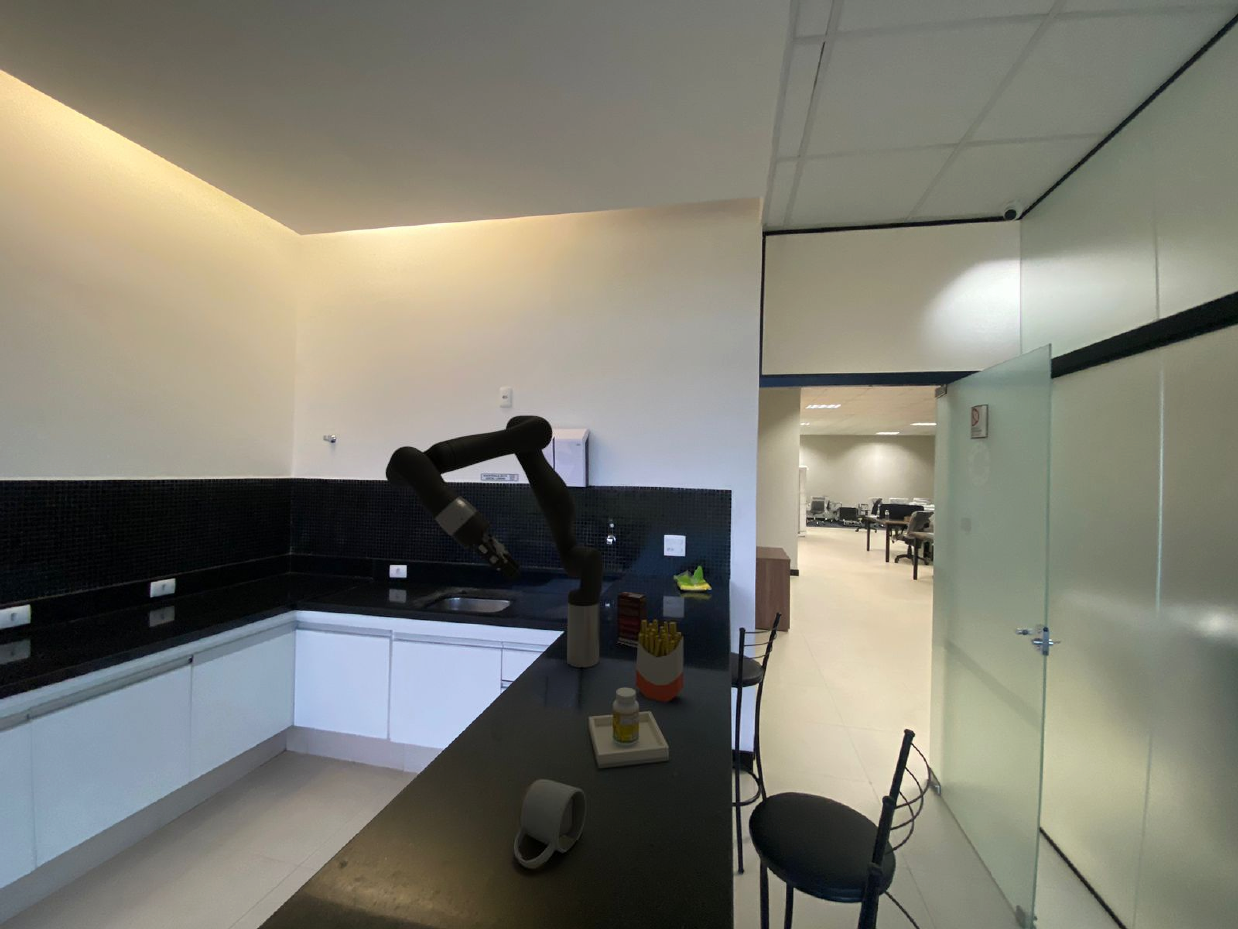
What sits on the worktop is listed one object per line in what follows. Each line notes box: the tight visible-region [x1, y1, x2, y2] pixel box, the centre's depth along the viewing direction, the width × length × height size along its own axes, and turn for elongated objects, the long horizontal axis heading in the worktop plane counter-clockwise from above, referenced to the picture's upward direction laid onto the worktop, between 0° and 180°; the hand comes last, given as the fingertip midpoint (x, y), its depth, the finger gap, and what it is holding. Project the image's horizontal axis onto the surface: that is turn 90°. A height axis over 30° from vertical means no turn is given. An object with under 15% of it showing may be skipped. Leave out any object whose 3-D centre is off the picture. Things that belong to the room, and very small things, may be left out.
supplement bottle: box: [612, 687, 640, 746], centre depth 94 cm, size 5×5×10 cm
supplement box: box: [616, 591, 648, 649], centre depth 148 cm, size 9×5×16 cm, turn 58°
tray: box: [588, 710, 670, 769], centre depth 94 cm, size 14×14×2 cm
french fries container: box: [635, 619, 684, 703], centre depth 114 cm, size 5×11×18 cm, turn 66°
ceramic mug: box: [513, 778, 587, 865], centre depth 69 cm, size 11×8×8 cm
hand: (516, 573), depth 102 cm, fingers open, 8 cm apart
